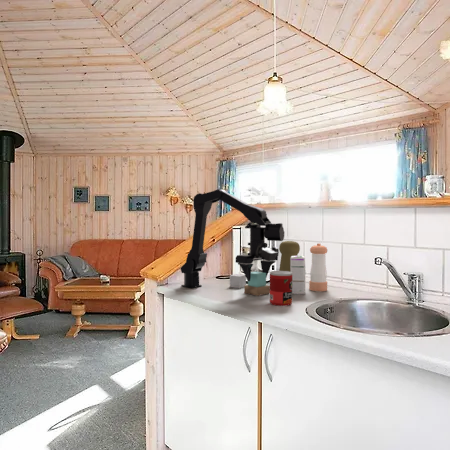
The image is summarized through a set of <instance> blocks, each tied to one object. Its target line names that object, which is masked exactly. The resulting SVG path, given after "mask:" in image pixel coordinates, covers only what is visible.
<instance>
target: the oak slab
mask: <svg viewBox="0 0 450 450" xmlns="http://www.w3.org/2000/svg"><path fill="white" fill-rule="evenodd" d="M243 288H244V289H243V290H244V294H247V295H253V296H256V297H257V296H258V297H259V296H262V295H268V294H270V284H269V285H267V284H266V286H261V287H254V286H248V284H246V285H244V287H243Z"/></svg>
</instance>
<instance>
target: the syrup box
mask: <svg viewBox="0 0 450 450" xmlns="http://www.w3.org/2000/svg"><path fill="white" fill-rule="evenodd" d="M290 272H292V295H305V294H306V256H305V255H298V256H291V258H290Z"/></svg>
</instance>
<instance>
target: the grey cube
mask: <svg viewBox="0 0 450 450" xmlns="http://www.w3.org/2000/svg"><path fill="white" fill-rule="evenodd" d="M244 285H247V278H246V276H245V274H239V273H234V274H230V275H229V287H230V288H234V289H235V288H237V289H242V288H244Z"/></svg>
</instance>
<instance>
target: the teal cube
mask: <svg viewBox="0 0 450 450" xmlns="http://www.w3.org/2000/svg"><path fill="white" fill-rule="evenodd" d="M247 285H248V286H254V287H261V286H266V285H267V277H266V273H263V272H262V271H251V278H250V281H247Z"/></svg>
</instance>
